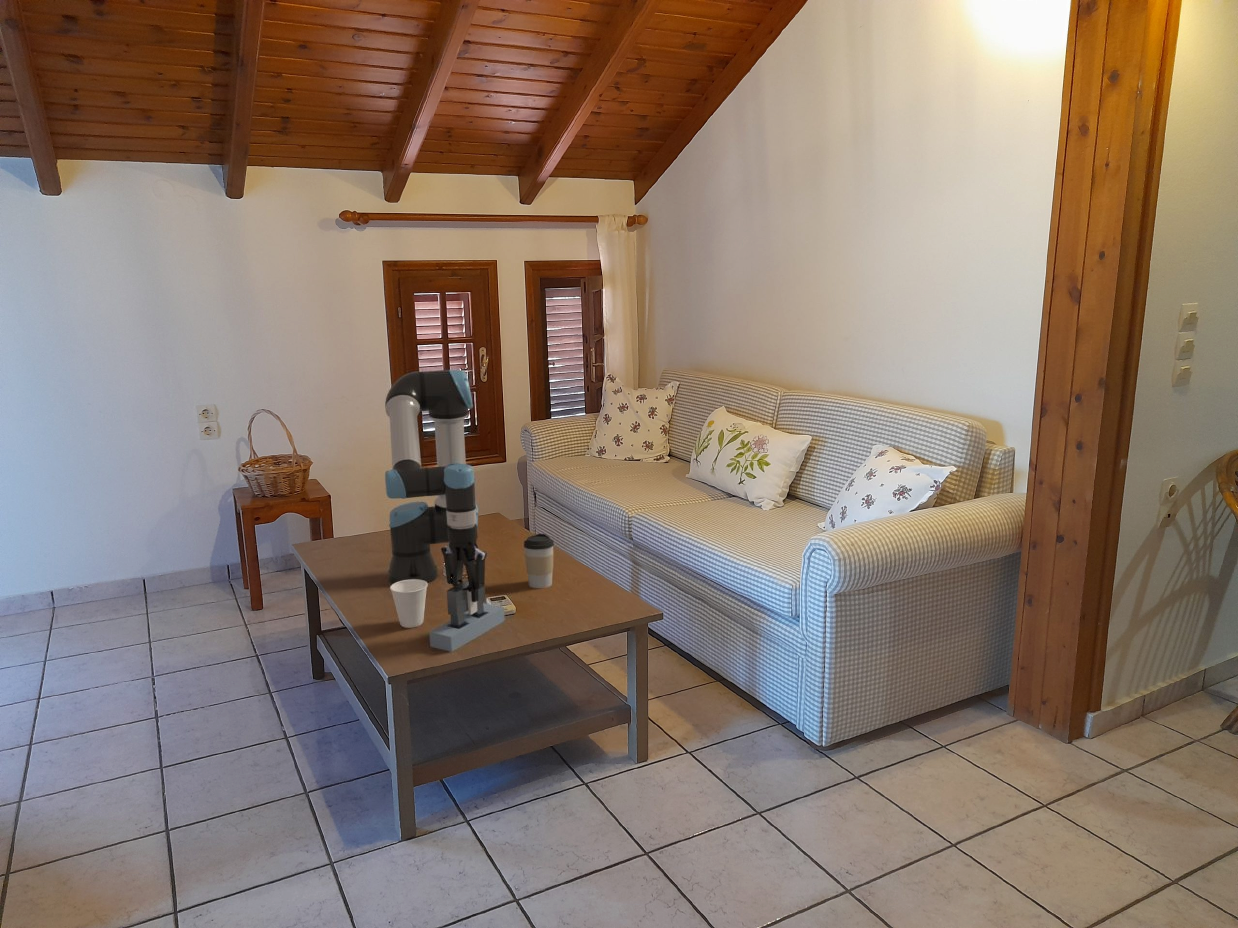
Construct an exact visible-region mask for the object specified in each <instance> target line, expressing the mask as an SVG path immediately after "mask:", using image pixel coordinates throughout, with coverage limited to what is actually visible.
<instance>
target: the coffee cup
mask: <svg viewBox="0 0 1238 928" xmlns="http://www.w3.org/2000/svg"><path fill="white" fill-rule="evenodd" d="M554 542H555V541H554V539H552V538H551V537H550V536H548V535H547V534H545V533H537V534H535V535H529V536H528V537H527V539H526V540H524V541H523V548H524V557H525V565H526V573H527V579H528V586H529V587H531V588H533V589H546V588H548V587H551V586H553V571H554V546H555V543H554Z"/></svg>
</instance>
